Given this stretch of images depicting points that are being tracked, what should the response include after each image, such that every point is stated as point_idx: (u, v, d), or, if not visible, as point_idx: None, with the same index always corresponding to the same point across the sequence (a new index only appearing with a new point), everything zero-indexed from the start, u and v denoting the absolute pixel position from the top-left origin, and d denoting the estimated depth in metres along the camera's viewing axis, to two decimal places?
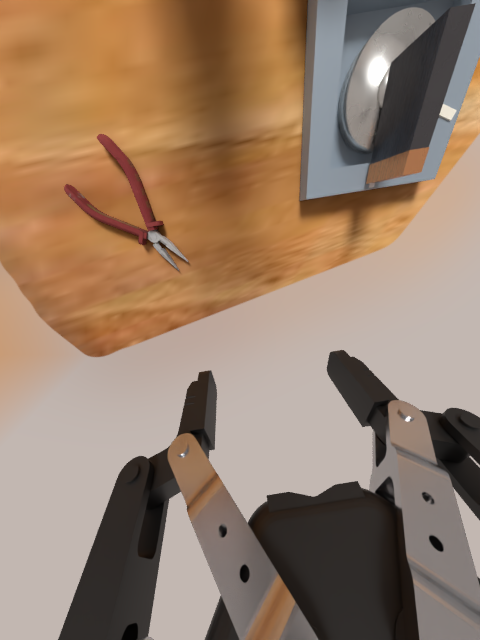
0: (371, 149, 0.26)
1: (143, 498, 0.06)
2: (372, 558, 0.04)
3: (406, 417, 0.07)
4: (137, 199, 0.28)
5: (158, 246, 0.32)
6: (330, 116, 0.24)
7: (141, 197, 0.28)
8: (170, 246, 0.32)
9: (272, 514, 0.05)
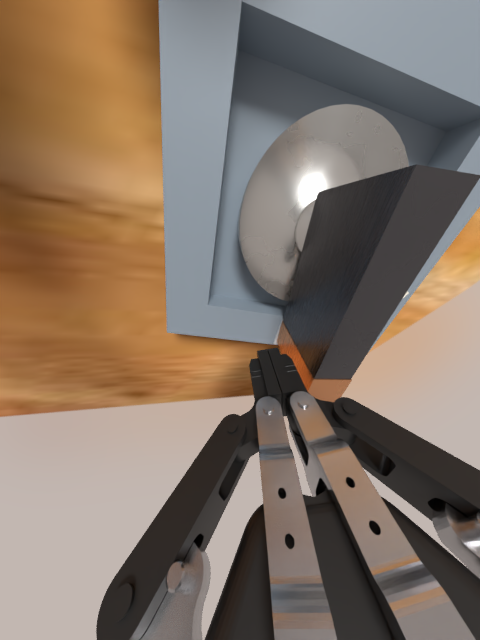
0: None
1: (233, 454, 0.07)
2: (355, 607, 0.04)
3: (300, 405, 0.08)
4: None
5: None
6: (205, 230, 0.12)
7: None
8: None
9: None
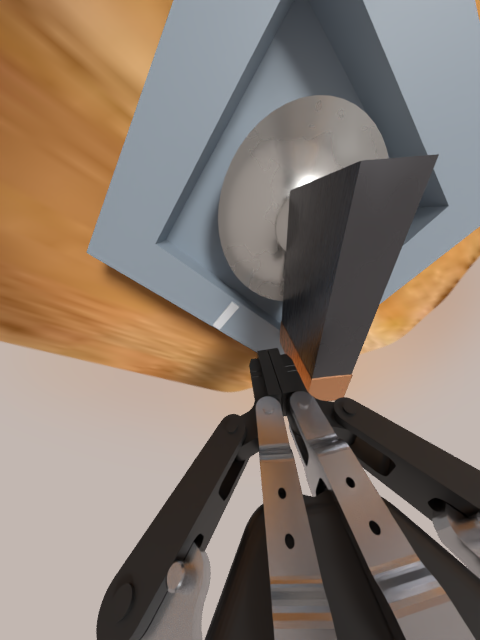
0: (282, 299, 0.15)
1: (233, 453, 0.07)
2: (355, 607, 0.04)
3: (300, 405, 0.08)
4: None
5: None
6: (187, 147, 0.10)
7: None
8: None
9: None
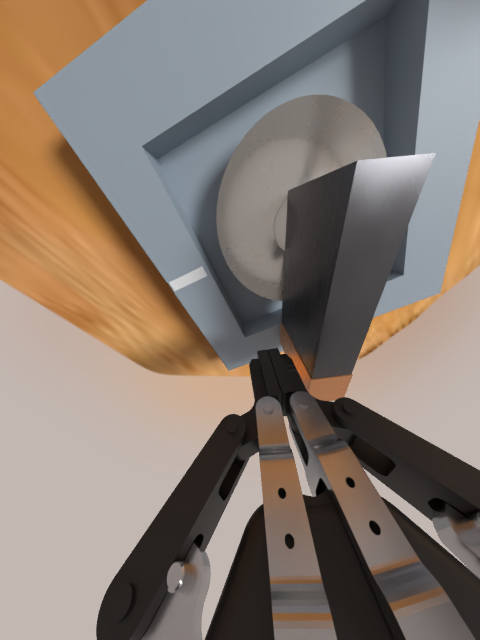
0: None
1: (233, 453, 0.07)
2: (355, 607, 0.04)
3: (301, 405, 0.08)
4: None
5: None
6: (229, 62, 0.08)
7: None
8: None
9: None
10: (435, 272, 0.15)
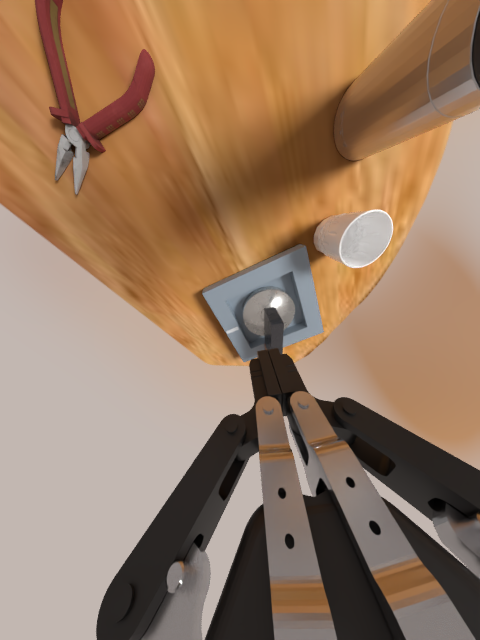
0: (264, 335, 0.42)
1: (233, 454, 0.07)
2: (355, 607, 0.04)
3: (301, 405, 0.08)
4: (105, 110, 0.22)
5: (66, 144, 0.23)
6: (248, 286, 0.35)
7: (110, 118, 0.22)
8: (77, 164, 0.24)
9: None
10: (319, 325, 0.41)
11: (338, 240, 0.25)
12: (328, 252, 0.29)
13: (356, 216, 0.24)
